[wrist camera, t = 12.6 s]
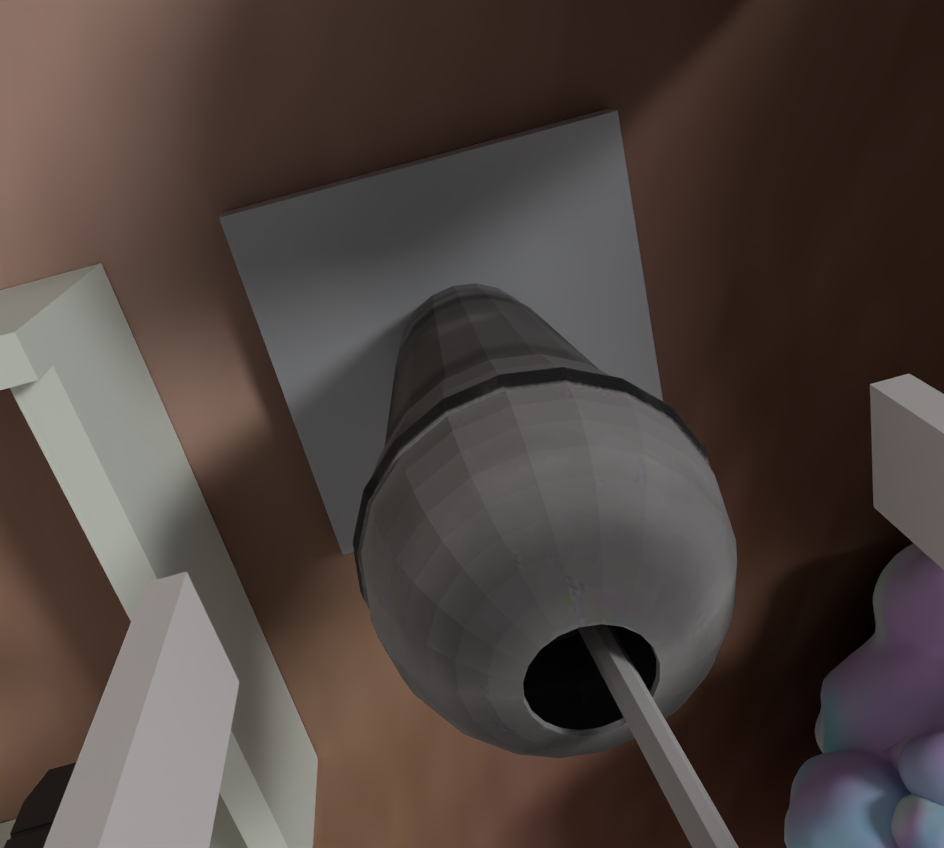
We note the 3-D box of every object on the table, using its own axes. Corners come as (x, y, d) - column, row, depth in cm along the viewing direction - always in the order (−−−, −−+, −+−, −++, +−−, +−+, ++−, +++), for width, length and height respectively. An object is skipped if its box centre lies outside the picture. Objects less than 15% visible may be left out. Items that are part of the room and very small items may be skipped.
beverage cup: (403, 201, 25) (526, 620, 6) (619, 287, 26) (1187, 798, 8) (324, 415, 27) (249, 1160, 9) (527, 480, 29) (810, 1204, 11)
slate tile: (223, 212, 25) (218, 217, 24) (608, 108, 25) (617, 110, 24) (343, 540, 30) (342, 555, 29) (663, 451, 30) (672, 463, 29)
